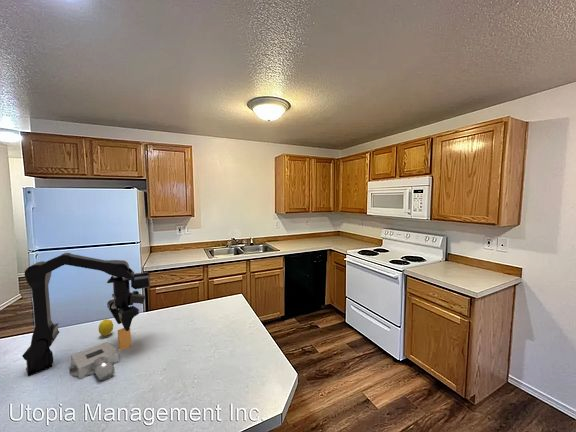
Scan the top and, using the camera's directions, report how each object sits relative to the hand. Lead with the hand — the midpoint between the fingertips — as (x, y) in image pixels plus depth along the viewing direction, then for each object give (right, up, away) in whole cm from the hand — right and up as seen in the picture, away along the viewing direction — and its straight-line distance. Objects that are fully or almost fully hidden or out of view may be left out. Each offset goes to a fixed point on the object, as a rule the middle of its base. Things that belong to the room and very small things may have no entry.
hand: (123, 327), depth 106 cm
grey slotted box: (-2, -10, -12) cm, 15 cm away
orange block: (0, -9, +1) cm, 9 cm away
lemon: (-14, -9, +10) cm, 19 cm away
